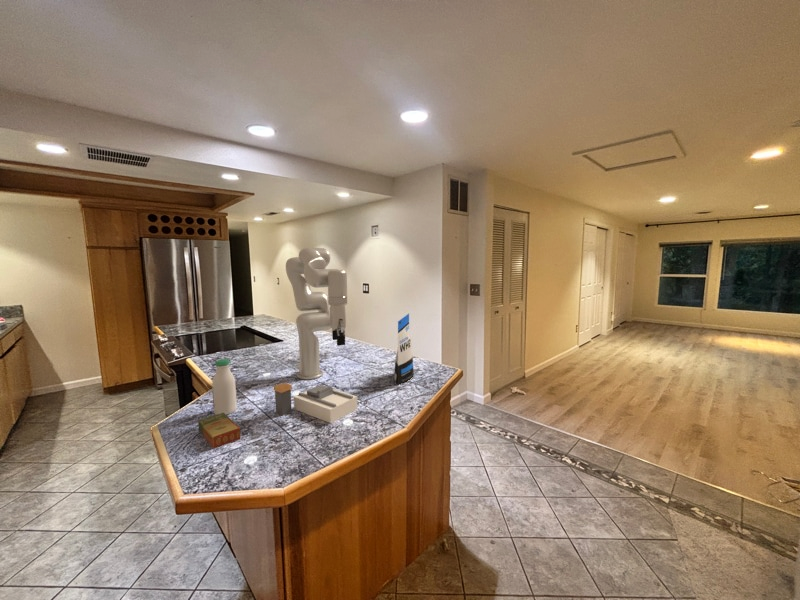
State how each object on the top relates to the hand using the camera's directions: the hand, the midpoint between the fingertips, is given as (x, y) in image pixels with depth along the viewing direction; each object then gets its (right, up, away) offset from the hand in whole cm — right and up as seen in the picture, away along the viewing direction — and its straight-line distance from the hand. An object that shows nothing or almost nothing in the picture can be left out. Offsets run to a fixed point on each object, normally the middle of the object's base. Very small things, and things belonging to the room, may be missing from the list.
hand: (338, 342), depth 134 cm
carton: (-35, -28, -26) cm, 51 cm away
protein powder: (+27, -21, +29) cm, 45 cm away
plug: (-19, -25, -10) cm, 33 cm away
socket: (-4, -25, -7) cm, 26 cm away
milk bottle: (-41, -25, -9) cm, 49 cm away
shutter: (-6, -20, -6) cm, 21 cm away
